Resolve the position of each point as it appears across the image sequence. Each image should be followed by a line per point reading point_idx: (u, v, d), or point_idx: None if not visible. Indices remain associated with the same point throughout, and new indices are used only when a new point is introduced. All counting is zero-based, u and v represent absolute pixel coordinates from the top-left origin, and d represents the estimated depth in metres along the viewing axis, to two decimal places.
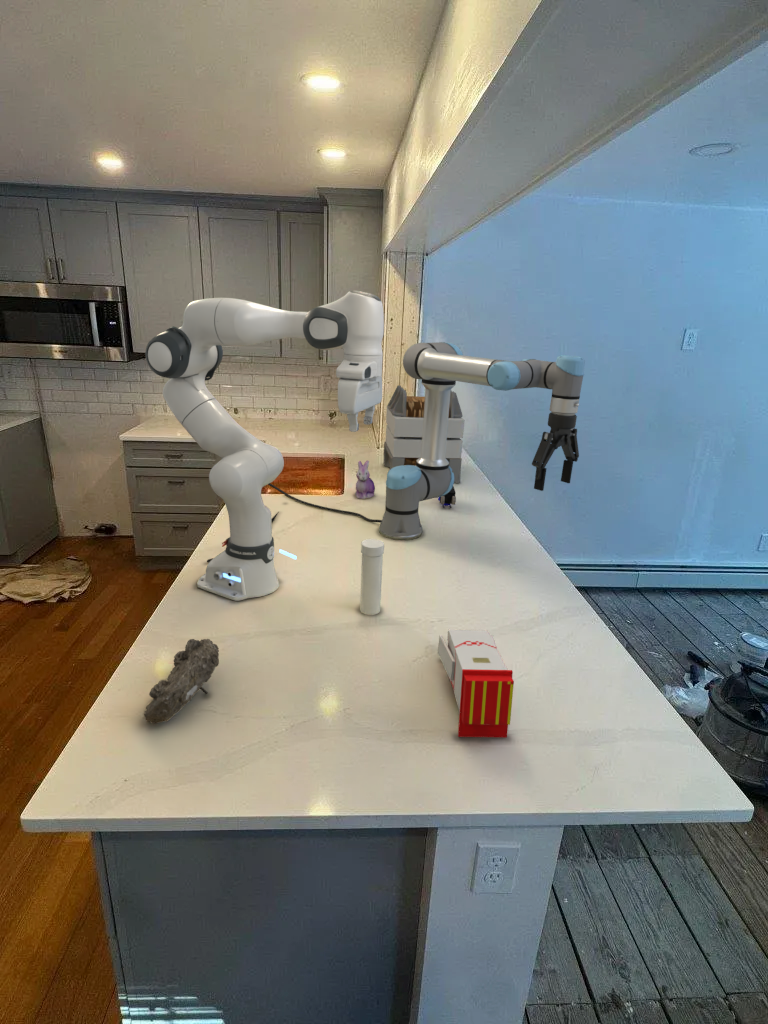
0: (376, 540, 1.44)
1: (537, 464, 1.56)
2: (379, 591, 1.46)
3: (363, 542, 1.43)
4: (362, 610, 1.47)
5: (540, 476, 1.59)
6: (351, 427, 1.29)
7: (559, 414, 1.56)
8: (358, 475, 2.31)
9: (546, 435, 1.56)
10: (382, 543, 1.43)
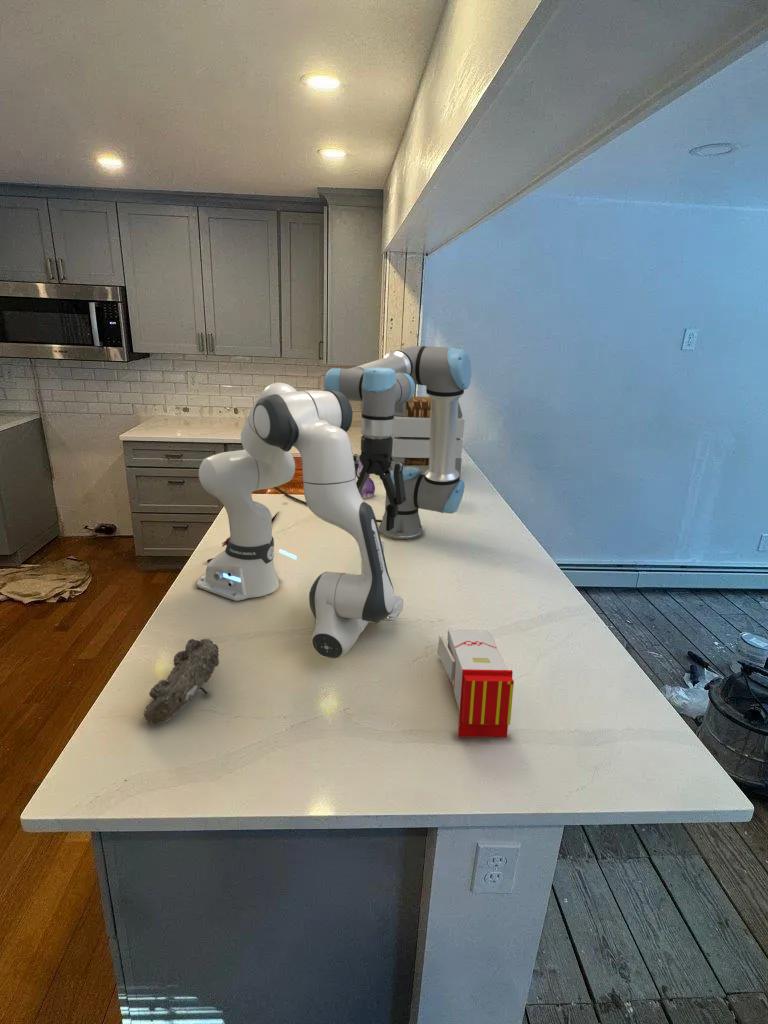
0: None
1: (404, 500, 1.35)
2: None
3: None
4: None
5: None
6: None
7: (390, 436, 1.33)
8: (358, 475, 2.31)
9: (401, 467, 1.33)
10: (382, 543, 1.43)
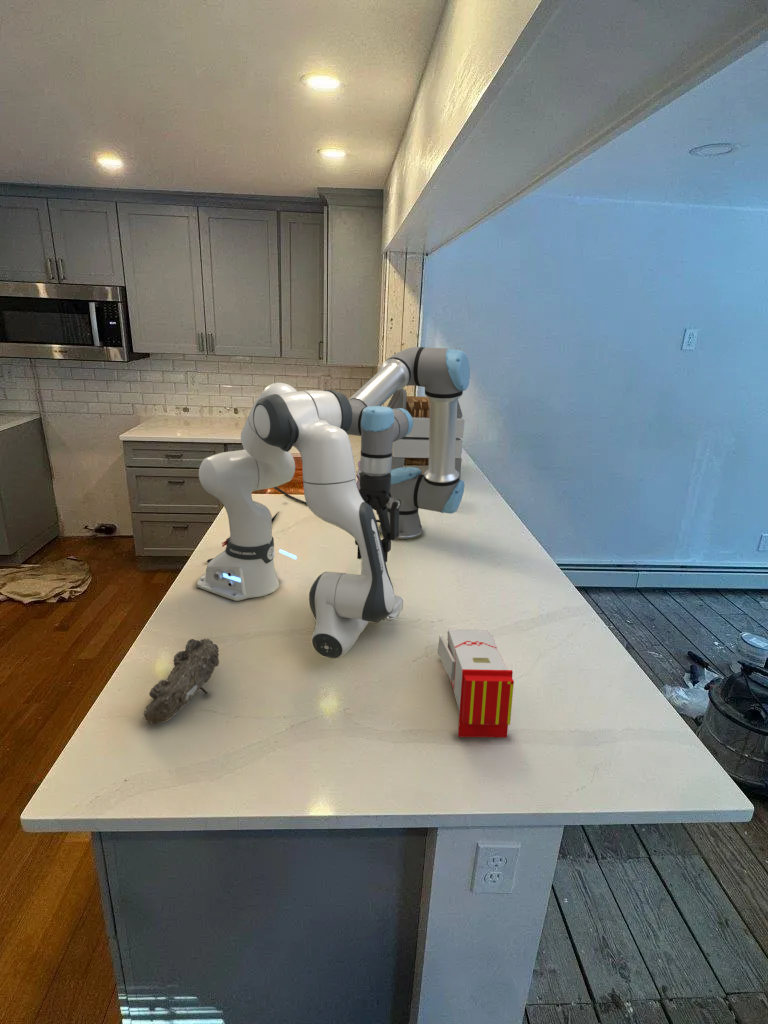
0: None
1: (397, 535, 1.39)
2: None
3: None
4: None
5: None
6: None
7: (388, 473, 1.36)
8: (358, 475, 2.31)
9: (398, 505, 1.36)
10: None
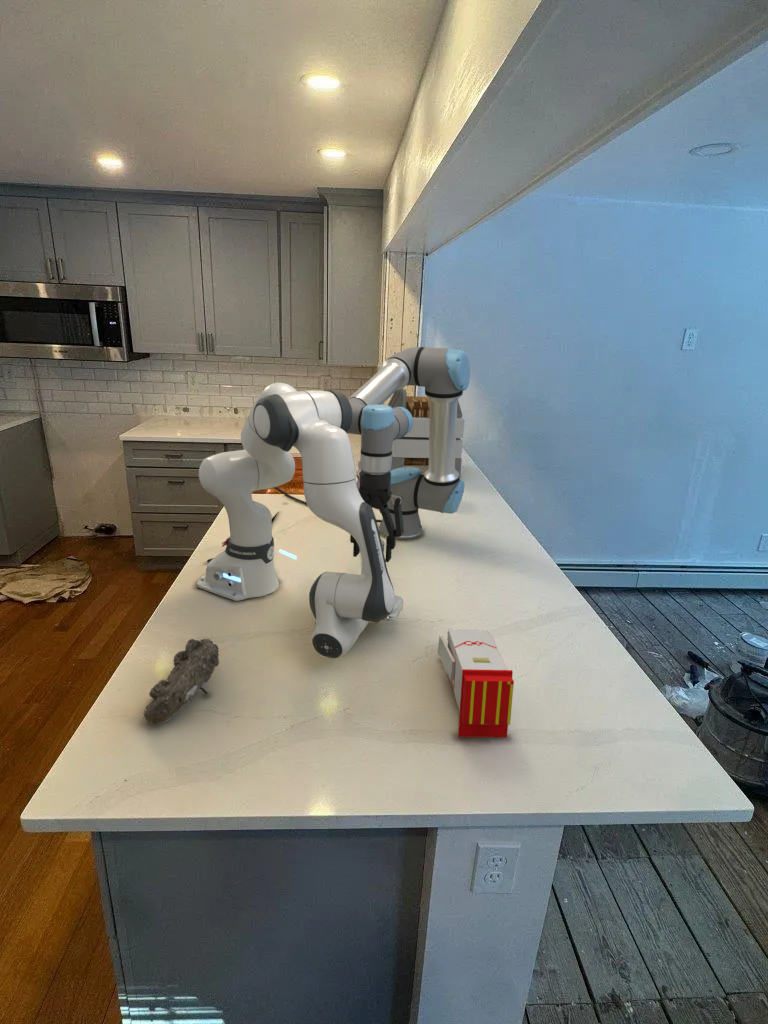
0: None
1: (403, 531, 1.40)
2: None
3: None
4: None
5: None
6: None
7: (388, 471, 1.36)
8: (358, 475, 2.31)
9: (401, 500, 1.37)
10: None
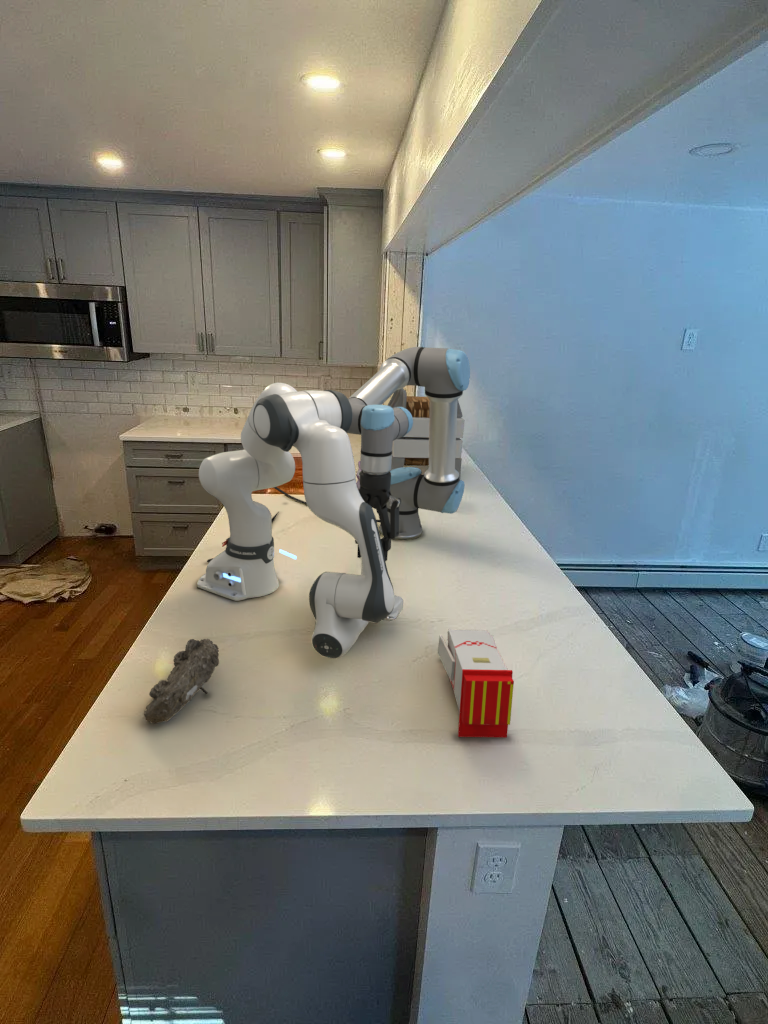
0: None
1: (397, 534, 1.39)
2: None
3: None
4: None
5: None
6: None
7: (388, 472, 1.35)
8: (358, 475, 2.31)
9: (398, 503, 1.36)
10: None
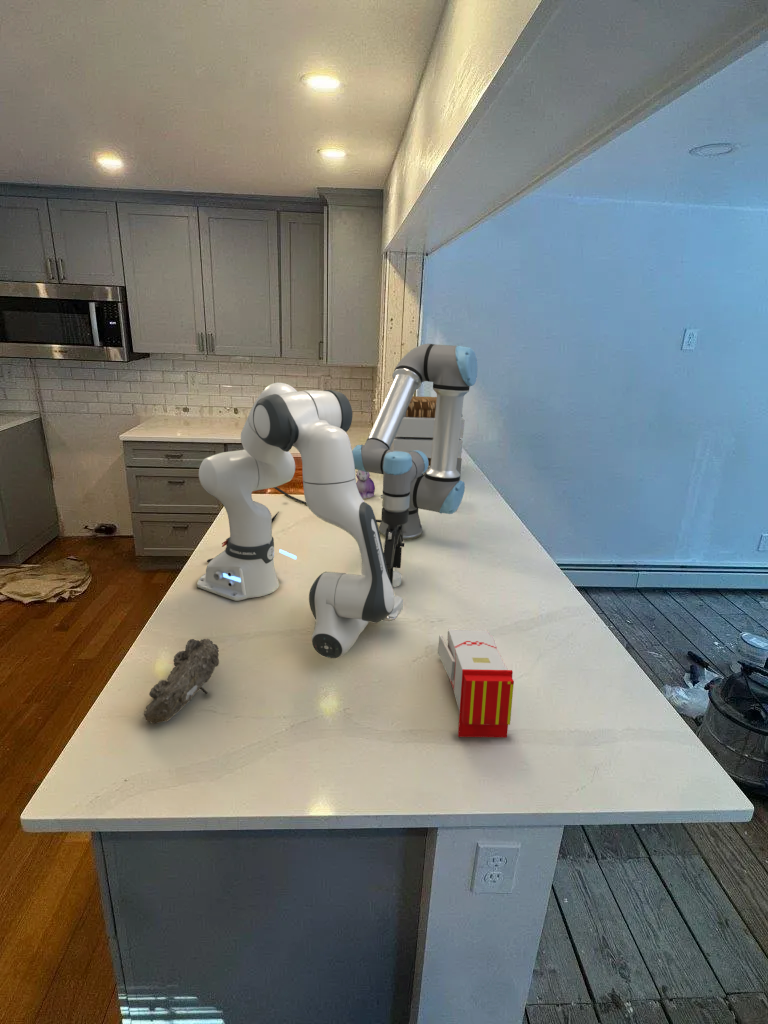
0: None
1: None
2: None
3: (398, 573, 1.65)
4: None
5: None
6: None
7: None
8: (358, 475, 2.31)
9: None
10: None
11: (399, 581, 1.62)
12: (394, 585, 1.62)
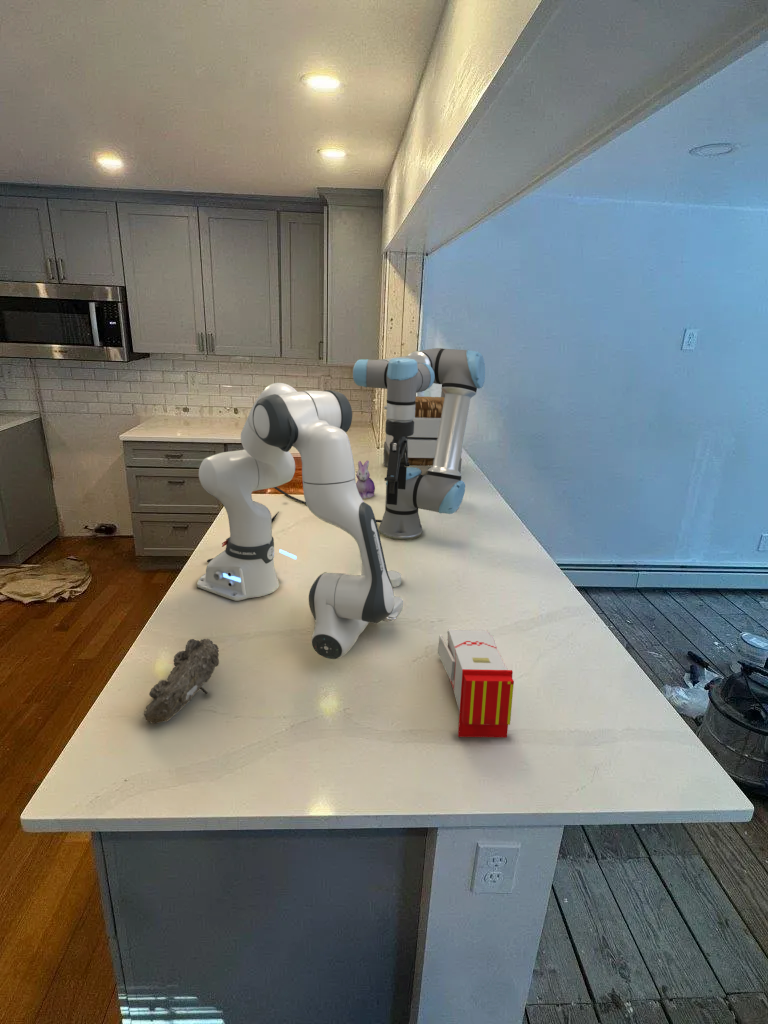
0: (392, 578, 1.62)
1: None
2: None
3: (398, 573, 1.65)
4: None
5: None
6: None
7: None
8: (358, 475, 2.31)
9: None
10: None
11: (399, 581, 1.62)
12: (394, 585, 1.62)
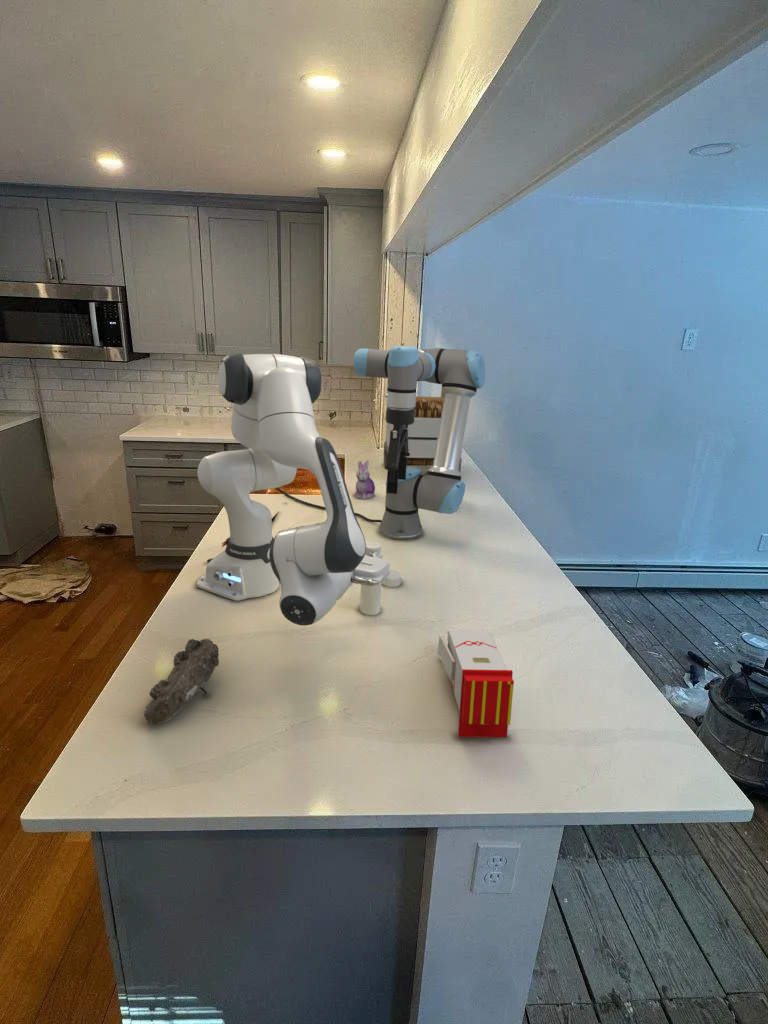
0: (392, 578, 1.62)
1: None
2: (379, 591, 1.45)
3: (398, 573, 1.65)
4: (362, 610, 1.47)
5: None
6: None
7: None
8: (358, 475, 2.31)
9: None
10: None
11: (399, 581, 1.62)
12: (394, 585, 1.62)
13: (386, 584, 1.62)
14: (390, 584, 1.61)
